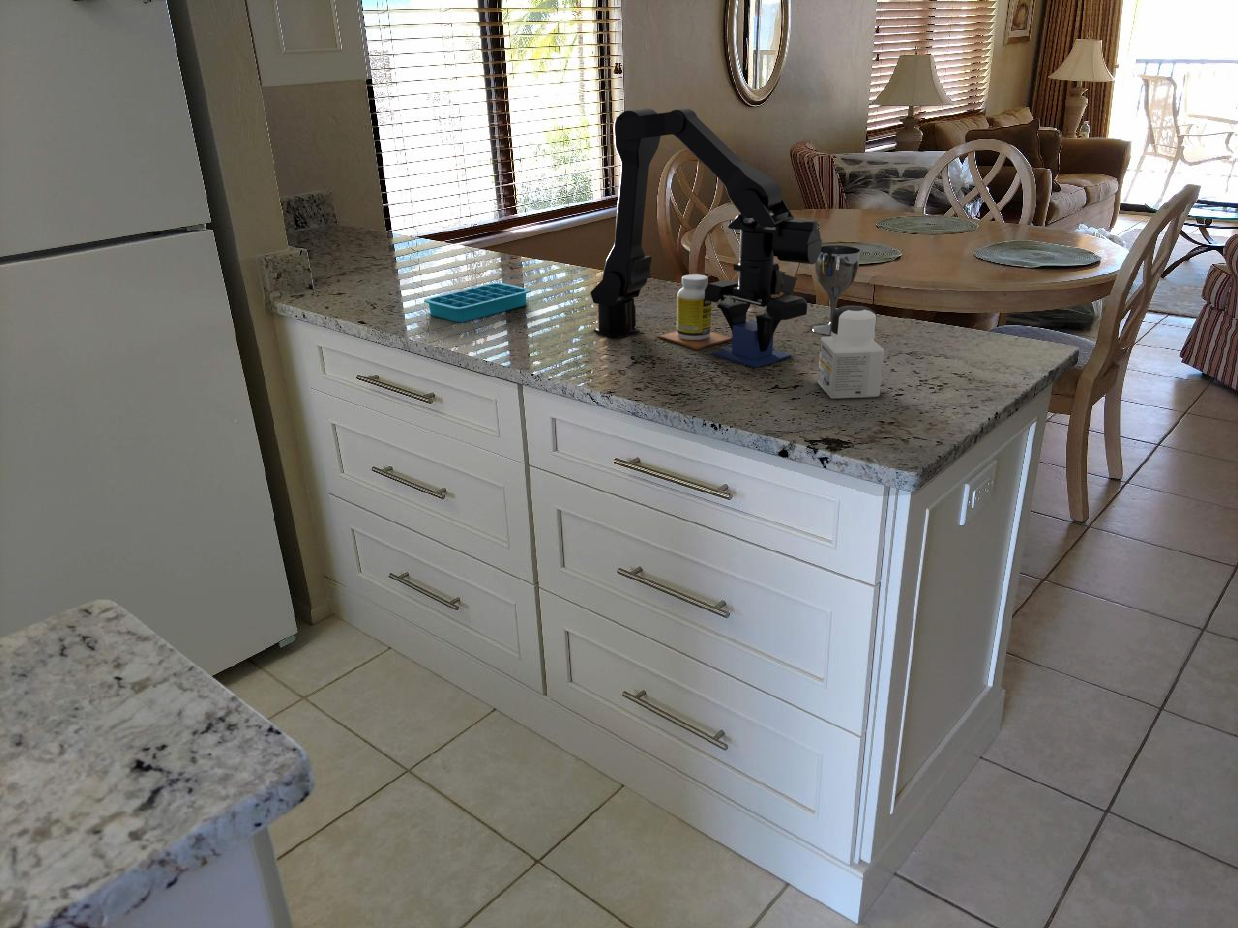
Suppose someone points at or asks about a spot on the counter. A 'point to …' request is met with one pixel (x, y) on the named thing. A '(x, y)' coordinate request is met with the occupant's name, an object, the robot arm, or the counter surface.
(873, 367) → the container
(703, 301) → the pill bottle
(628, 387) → the counter surface
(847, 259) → the wine glass
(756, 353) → the navy block
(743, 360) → the navy mat
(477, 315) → the ice cube tray
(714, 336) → the amber mat
